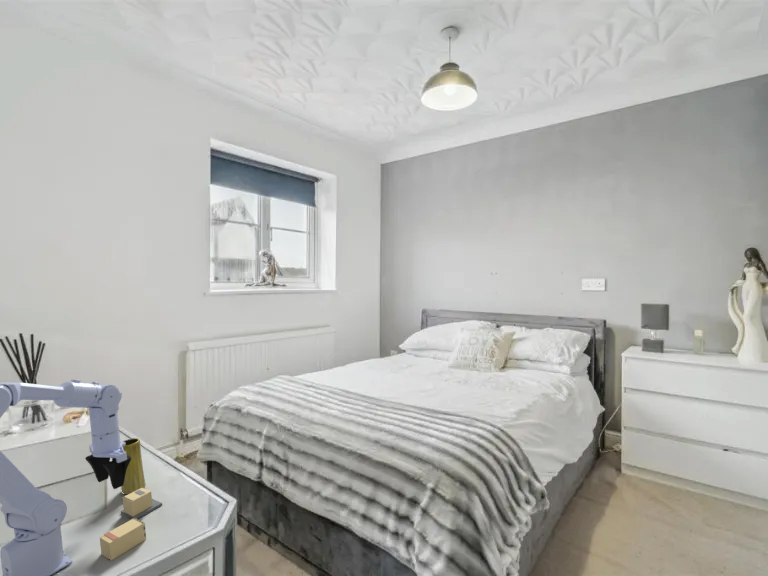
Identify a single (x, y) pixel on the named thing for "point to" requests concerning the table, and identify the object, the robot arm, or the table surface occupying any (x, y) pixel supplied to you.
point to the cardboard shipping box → (122, 538)
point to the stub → (137, 501)
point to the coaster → (154, 505)
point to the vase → (133, 467)
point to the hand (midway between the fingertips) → (110, 483)
